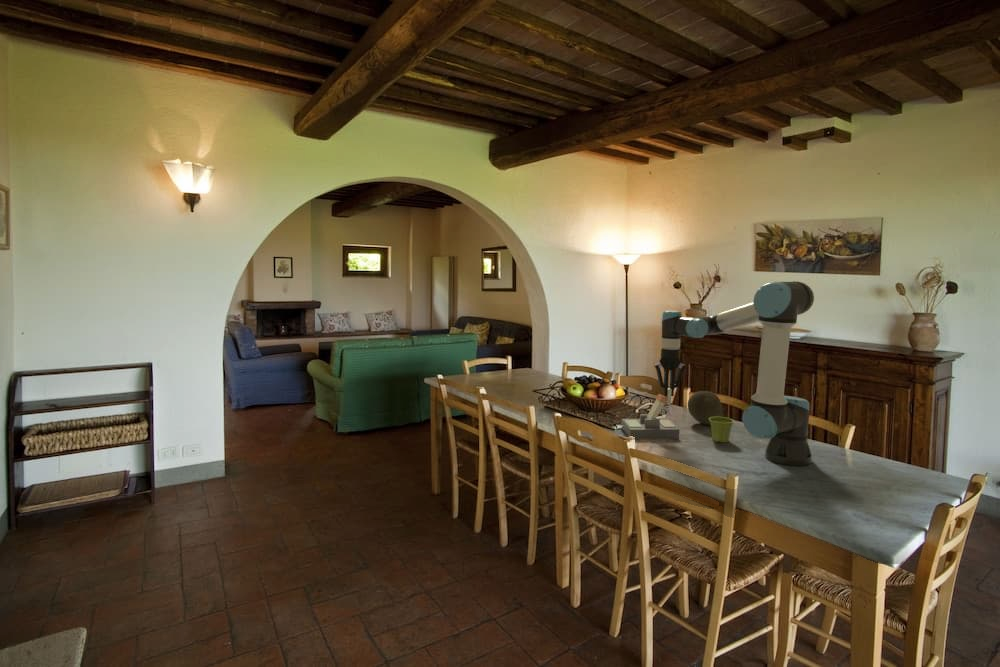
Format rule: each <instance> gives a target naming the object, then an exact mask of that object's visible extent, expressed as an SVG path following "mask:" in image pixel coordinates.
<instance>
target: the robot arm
mask: <svg viewBox="0 0 1000 667" xmlns="http://www.w3.org/2000/svg"><path fill="white" fill-rule="evenodd" d="M814 302H815V294H814V292H813V289H812V288H811V286H809V285H808V284H806V283H805V282H801V281H773V282H768V283H765V284H763V285H762V286H760V288H758V289H757V290H756V292H755V294H754V296H753V301H752V302H749V303H747V304H744V305H741V306H738V307H735V308H733V309H729V310H725V311H723V312H720V313H717V314H714V315H711V316H698V317H689V316H688V317H687V316H683V315H682V311H679V310H665V311H663V312H662V317H661V339H660V340H661V341H660V342H661V344H660V346H661V349H660V359H659V362H658V363H655V364H654V365H653V367H654V369H655V370H656V374H657V379H658V385H659V387H661V388H663V396H665V397H666V398H667V399H668V400H667V402H666V403H665V405H669V406H670V405H672V397H674V395H675V394H674V393H675V389H676V388H679V386H680V384H681V381H682V380H681V379H682V378H683V377H682V376H683V372H684V370H685V369H686V368H687V366H686V364H683V363H682V362H681V359H680V358H681V357H680V355H681V350H680V349H681V336H684V337H688V338H689V337H691V338H694V339H695V338H699V339H700V338H704V337H705V336H711V335H713V336H714V335H716V336H717V335H722V334H724V333H725V332H726V331H730V330H733V329H738V328H742V327H745V326H748V325H752V324H755V323H760V324H761V325H762V330H761V341H760V351H759V352H760V353H759V361H758V372H757V382H756V392H755V393H754V394H753V395H751V397H750V404H749V406H748V407H747V408H746V409H744V410H743V412H742V423H743V427H744V428H745V429H746V430H747V432H748V433H749V435H751V436H752V437H755V438H756V439H760V440H762V439H763V440H764V439H769V441H768V443H767V445H766V448H765V451H764V455H765V456H764V457H765V458H766V459H767V460H769V461H771V462H774V463H776V464H781V465H785V466H793V467H794V466H795V467H797V466H798V467H802V466H808V465H810V464H812V459H813V457H812V456H813V455H812V453H811V452H812V451H811V449H810V445H809V442H808V437H809V436H808V434H809V423H810V422H809V421H810V412H811V410H810V402H809V401H808V400H807V399H805V398H802V397H797V396H791V395H785V387H786V386H785V385H786V377H787V368H788V357H789V347H790V339H791V329H792V327H793V326H795V325H796V324H797V321H798V320H797V319H798V315H803V314H805V313H807V312H808V311H809V310H810V309H811V308H812V306H813V305H814ZM661 367H662V368H663V374H662V371H661ZM677 368H678V370H677ZM676 370H677V373H676Z"/></svg>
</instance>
